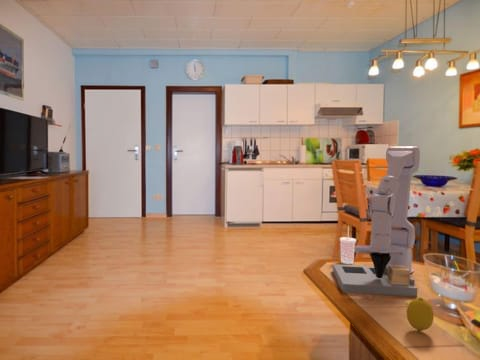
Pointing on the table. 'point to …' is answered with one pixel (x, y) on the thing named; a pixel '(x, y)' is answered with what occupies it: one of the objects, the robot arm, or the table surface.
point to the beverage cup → (347, 249)
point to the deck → (369, 281)
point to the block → (398, 274)
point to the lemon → (420, 314)
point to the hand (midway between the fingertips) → (378, 277)
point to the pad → (397, 283)
